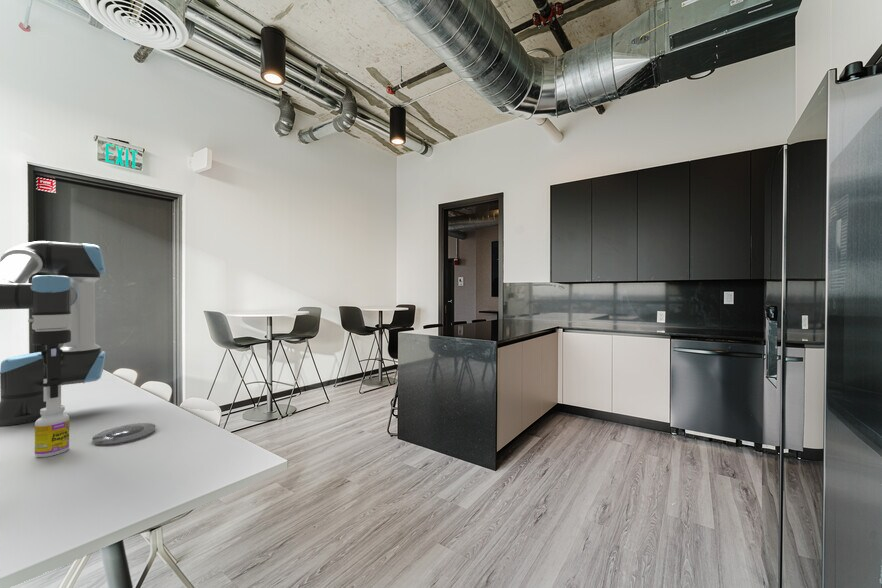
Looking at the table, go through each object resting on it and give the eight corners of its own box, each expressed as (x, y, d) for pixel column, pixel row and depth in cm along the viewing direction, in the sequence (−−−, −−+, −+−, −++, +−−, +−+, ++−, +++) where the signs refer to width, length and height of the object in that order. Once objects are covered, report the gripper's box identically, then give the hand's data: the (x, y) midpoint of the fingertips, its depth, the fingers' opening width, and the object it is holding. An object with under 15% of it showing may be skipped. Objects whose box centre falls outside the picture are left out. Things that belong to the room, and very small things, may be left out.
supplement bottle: (50, 458, 97) (50, 411, 97) (27, 458, 97) (26, 411, 97) (76, 447, 103) (76, 404, 103) (54, 447, 104) (54, 403, 104)
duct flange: (77, 445, 105) (77, 441, 105) (122, 426, 120) (122, 422, 120) (128, 445, 105) (128, 440, 105) (167, 426, 120) (167, 422, 120)
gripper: (30, 328, 105) (30, 399, 105) (33, 333, 89) (33, 417, 89) (67, 326, 111) (67, 394, 111) (75, 331, 95) (75, 409, 95)
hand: (52, 404), depth 100 cm, fingers open, 13 cm apart
